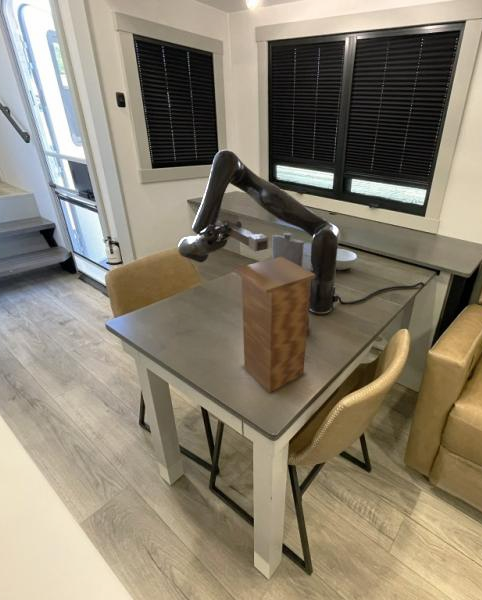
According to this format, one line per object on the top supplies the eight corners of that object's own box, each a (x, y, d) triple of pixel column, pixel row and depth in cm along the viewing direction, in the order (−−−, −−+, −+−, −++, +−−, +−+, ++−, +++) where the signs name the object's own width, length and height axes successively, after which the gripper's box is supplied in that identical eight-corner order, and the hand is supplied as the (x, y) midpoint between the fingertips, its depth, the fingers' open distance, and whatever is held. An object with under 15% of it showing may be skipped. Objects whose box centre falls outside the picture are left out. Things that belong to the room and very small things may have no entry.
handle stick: (229, 227, 98) (228, 217, 96) (268, 248, 85) (268, 236, 83) (216, 229, 95) (216, 218, 94) (255, 251, 83) (255, 239, 81)
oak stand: (278, 348, 107) (281, 256, 91) (307, 372, 98) (315, 274, 82) (238, 367, 98) (233, 268, 82) (265, 395, 89) (266, 290, 73)
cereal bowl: (356, 275, 161) (359, 261, 158) (323, 272, 161) (324, 259, 158) (352, 261, 176) (354, 249, 173) (321, 259, 176) (323, 247, 172)
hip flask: (302, 276, 156) (305, 235, 146) (298, 279, 152) (301, 238, 143) (274, 268, 162) (275, 228, 152) (269, 271, 159) (270, 230, 149)
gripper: (186, 231, 100) (206, 215, 86) (227, 225, 109) (251, 209, 95) (193, 255, 101) (215, 243, 87) (233, 247, 109) (259, 234, 96)
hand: (234, 225), depth 91 cm, fingers closed on handle stick, 3 cm apart
